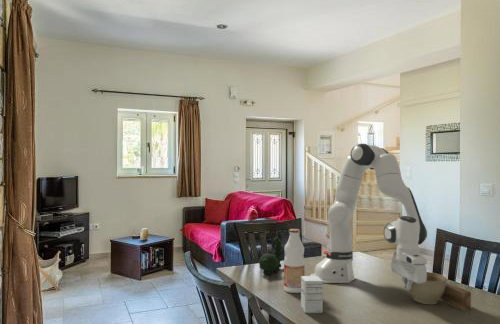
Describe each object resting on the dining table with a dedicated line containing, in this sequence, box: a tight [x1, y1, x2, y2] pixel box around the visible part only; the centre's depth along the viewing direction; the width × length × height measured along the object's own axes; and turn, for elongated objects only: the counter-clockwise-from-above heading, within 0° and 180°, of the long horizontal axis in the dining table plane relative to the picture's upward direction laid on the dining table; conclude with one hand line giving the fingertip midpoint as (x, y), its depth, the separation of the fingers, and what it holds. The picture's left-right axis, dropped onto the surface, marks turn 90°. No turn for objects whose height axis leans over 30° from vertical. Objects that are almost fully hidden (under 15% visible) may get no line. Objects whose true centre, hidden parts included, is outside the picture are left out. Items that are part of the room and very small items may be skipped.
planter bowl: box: [408, 271, 447, 305], centre depth 172 cm, size 16×16×11 cm
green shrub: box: [258, 236, 284, 276], centre depth 215 cm, size 9×19×25 cm
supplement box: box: [300, 275, 324, 314], centre depth 160 cm, size 7×7×13 cm
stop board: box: [438, 281, 472, 311], centre depth 173 cm, size 4×24×7 cm, turn 12°
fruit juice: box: [283, 228, 306, 294], centre depth 185 cm, size 9×9×28 cm
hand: (407, 288), depth 169 cm, fingers closed
